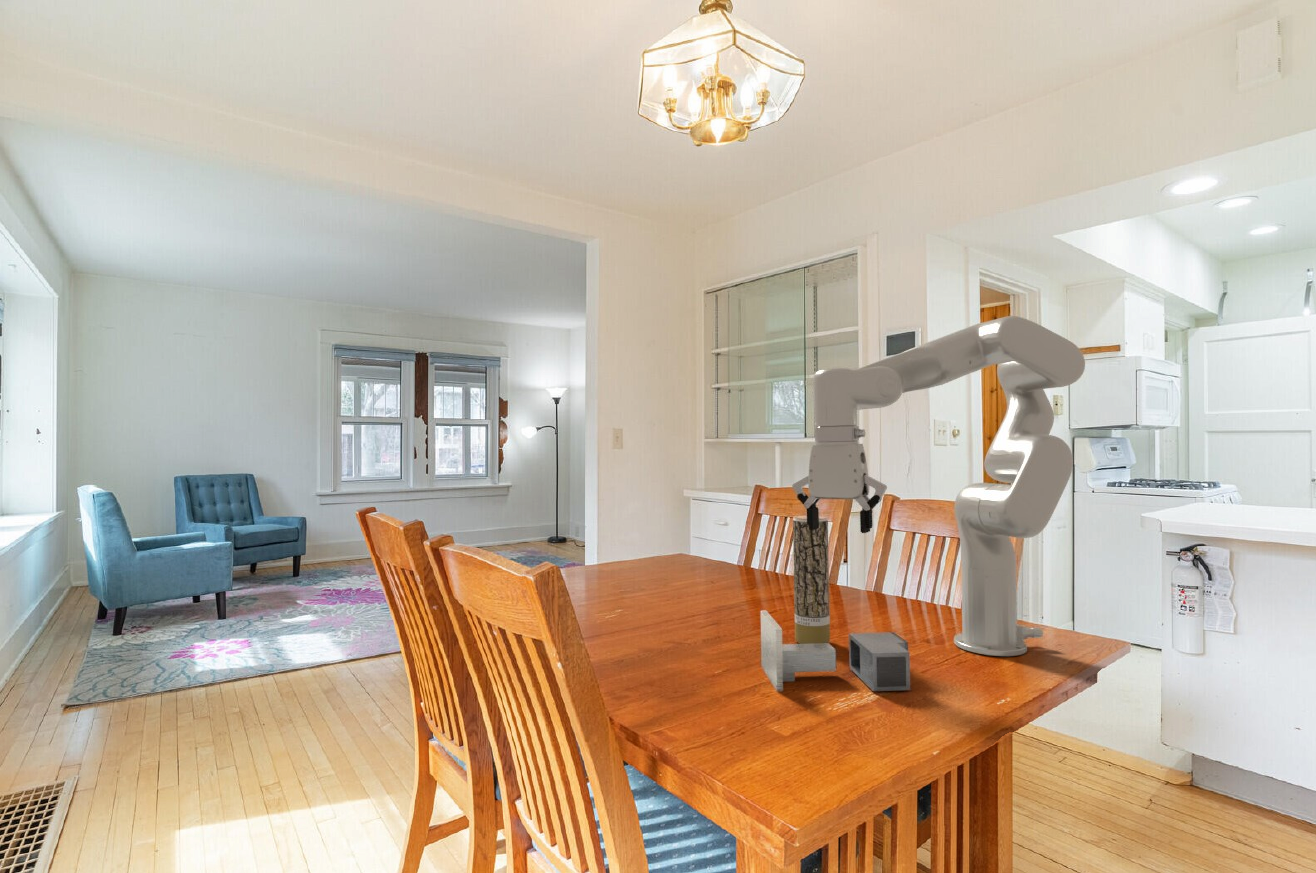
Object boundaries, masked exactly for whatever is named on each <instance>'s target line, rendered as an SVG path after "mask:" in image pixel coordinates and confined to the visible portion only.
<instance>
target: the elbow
mask: <svg viewBox="0 0 1316 873" xmlns="http://www.w3.org/2000/svg"><path fill="white" fill-rule="evenodd" d="M848 652H849V654H848V655H849V664H848V665H849V669H850V670H851V671H852V672H853V673H854V674H855V675H856V676H857V677H858V678H859V679H860V680H861V681H862V682H863V683H864V684H865V685H866V687H868V688H869V689H870V690H871V691H872V692H889V691H891V692H892V691H895V692H896V691H911V668H910V667H911V666H910V665H911V663H910V651H909V642H908V641H907V640H905V639H904V638H902V637H901V636H900V635H898V634H897V633H896V632H894V631H893V632H892V631H891V632H887V631H886V632H860V633H859V632H857V633H855V632H853V633H852V632H851V633H848Z"/></svg>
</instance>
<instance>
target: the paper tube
mask: <svg viewBox="0 0 1316 873" xmlns="http://www.w3.org/2000/svg"><path fill="white" fill-rule="evenodd" d="M792 518H793V519H792V529H793V530H792V532H793V533H792V534H793V535H792V536H793V537H792V538H793V542H792V543H793V592H794V594H793V595H794V597H793V598H794V599H793V600H794V601H793V602H794V604H793V605H794V640H795V641H796V642H797V644H815V643H829V644H830V640H831V638H830V637H831V634H830V633H831V632H830V628H831V627H830V623H831V622H830V618H831V617H830V615H831V614H830V577H829V576H830V572H829V571H830V570H829V568H830V567H829V564H830V563H829V558H830V557H829V521H828V520H829V519H828V518H829V517H827V516H822V515H819V528H818V529H815V530H809V525H808V524H807V515H796V516H793V517H792Z"/></svg>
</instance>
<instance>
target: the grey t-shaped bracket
mask: <svg viewBox="0 0 1316 873" xmlns="http://www.w3.org/2000/svg"><path fill="white" fill-rule="evenodd" d="M760 648H761V650H760V654H761V655H760V656H761V663H760V664H761V666H760V667H761V668H762V670H763V671H764V673H765V674H766V676H767V678H768V679H769V681H770V683H771V684H772V686H773V687H774V690H776V692H784V683H785V682H796V679H795V678H796V676H795V673H813V672H814V673H815V672H816V673H817V672H818V673H819V672H820V673H821V672H836V671H837V665H838V664H837V650H836V648H834V647H833V646H832V645H831V644H830V642H829V643H815V644H799V643H789V644H788V643H787V644H786V643H785V644H783V629H782V627H781V626H780V625H779V623H778V622H777V621H776V620H775V619H774V618H773V617H772V616H771V614H770V613H769V612H768V611H767V610H765V609H762V610H760Z"/></svg>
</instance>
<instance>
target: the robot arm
mask: <svg viewBox="0 0 1316 873" xmlns="http://www.w3.org/2000/svg"><path fill="white" fill-rule="evenodd" d="M995 365H997V369H996V375H997V379H998V382H999V384H1000V385H1001V389H1002V390H1003V392H1004V396H1005V400H1006V412H1005V414H1004V417H1003V420H1002V421H1001V423H1000V426H999V428H998V430H997V432H996V433H995V436H994V438H993V440H992V442H991V444H990V446H989V448H988V450H987V453H986V455H985V458H984V463H983V466H984V471H985V472H986V474H987V475H988V476H989V477H990V478H991V479H993V480H995V481H998V482H1000V483H991V482H976V483H971V484H968V485H966V486H965V487H963V488H962V489H961V490H960V491H959V492H958V493H957V495H956V498H955V501H954V508H953V509H954V515H955V516H954V517H955V521H956V526H957V528H958V534H959V542H960V563H961V564H960V571H961V572H960V576H961V578H960V579H961V581H960V582H961V584H960V585H961V586H960V587H961V622H962V623H961V624H962V625H961V627H962V631H961V632H960V633H957V634H955V635H954V637H953V642H954V644H955V646H957V647H958V648H960V649H962V650H964V651H968V652H970V653H974V654H980V655H985V656H994V657H1015V656H1016V657H1017V656H1022V655H1024V654H1026V653H1027V651H1028V645H1027V643H1026V642H1025V641H1026V640H1027V639H1028V638H1033V639H1036V638H1037V639H1041V638H1043V636H1044V632H1043V629H1042V628H1041V627H1037V626H1035V627H1028V626H1027V625H1023V624H1022V625H1021V624H1019V623H1018V608H1017V607H1018V606H1017V605H1018V602H1017V598H1018V597H1017V557H1016V552H1015V548H1014V545H1013V542H1012V540H1011V537H1012V538H1017V539H1030V538H1033V537H1036V536H1037V535H1039V534H1040V533H1041V532H1043V530H1044V529H1045V528H1046V526H1047V525H1049V524H1048V523H1049V522H1050V520H1051V518H1052V517H1053V514H1054V512H1055V510H1056V508H1057V506H1058V503H1059V502H1060V499H1061V497H1062V495H1063V494H1064V491H1065V489H1066V487H1067V485H1068V482H1069V480H1070V477H1072V473H1073V467H1074V466H1073V463H1074V462H1073V461H1074V459H1073V454H1072V451H1071V448H1070V447H1069V445H1068V444H1067V442H1065V441H1064V440H1063V439H1062V438H1060V437H1058V436H1056V435H1053V434H1050V433H1051V431H1052V429H1053V426H1054V422H1055V421H1054V420H1055V414H1054V410H1053V407H1052V404H1051V402H1050V400H1049V398H1048V396H1047V394H1046V392H1045V390H1046V389H1054V388H1062V387H1063V388H1064V387H1067V386H1070V385H1072V384H1074V383H1076V382H1077V381H1078V380H1079V379H1080V378H1081V377H1082V375H1083V374H1084V372H1085V370H1086V360H1085V356H1084V354H1083V352H1082V350H1081V349H1080V348H1079V346H1077V345H1076V344H1075V343H1074V342H1073V341H1070V340H1069V339H1067V338H1066V337H1063V336H1062V335H1059V334H1058V333H1056V332H1054V331H1052V330H1050V329H1048V328H1046V327H1045V326H1043V325H1041V324H1038V323H1037V322H1035V321H1032V320H1029V319H1027V318H1024V317H1021V316H1016V315H1008V316H1003V317H999V318H996V319H992V320H988V321H984V322H981V323H980V322H979V323H977V324H973V325H971V326H968V327H965V328H963V329H960V330H958V331H955V332H952V333H949V334H947V335H944V336H942V337H939V338H936V339H933V340H930V341H928V342H925V343H922V344H920V345H917V346H915V347H912V348H910V349H907V350H905V351H902V352H900V353H897V354H894V355H892V356H890V357H887V358H884V359H881V360H878V361H875V362H873V363H870V364H867V365H865V366H862V367H859V368H855V369H850V368H845V367H844V368H842V367H838V368H837V367H835V368H834V367H833V368H824V369H821V370H818V371H817V370H816V372H815V374H814V375H813V379H812V381H813V384H812V385H813V413H814V414H813V415H814V443H815V444H812V445H811V449H810V454H809V463H808V475H807V476H805V477H804V478H802V479H800V480H798V481H796V482H794V483H793V484H792V489H793V491H794V493H795V495H796V498H797V500H798V501H799V502H800V503H801V504H802V505H803V507H804V509H806V516H807V524H808V525H809V530H815V529H818V528H819V516H820V513H819V512H820V510H819V507H818V506H817V504H818V503H819V502H820V501H821V499H822V500H855V501H856V502H857V503H858V505H860V507H861V509H862V510H860V511H859V522H860V523H859V524H860V529H859V530H860V533H861V534H867V533H870V532H871V529H872V528H873V526H874V524H873V509H875V507H876V506H877V505H879V503H880V502H881V501H882V498H883V496H884V494H885V492H886V490H887V488H888V487H887V485H886V483H885V484H884V483H883V482H881V481H879V480H877V479H875V478H873V477H871V476H869V472H868V471H869V470H868V462H867V456H866V451H865V447H864V444H863V443H859V441H860V438H865V437H866V430H865V429H861V428H859V426H858V413H857V412H858V411H861V410H869V409H871V410H872V409H880V408H885V407H889V406H891V405H893V404H894V403H896V402H897V401H898V400H899V399H900V398H901V396H902V395H903V394H904V393H908V392H913V391H915V392H916V391H922V390H925V389H931V388H935V387H939V386H943V385H945V384H947V383H951V382H952V381H954V380H957V379H960V378H963V377H965V376H968V375H970V374H971V373H975V372H977V371H980V370H982V369H985V368H988V367H992V366H995ZM806 486H808V493H809V495H807V494H806V493H805V490H804V487H806ZM870 488H873V489H874V490H875V492H874V494H873V496H871V498H870V497H869V494H870ZM1024 640H1025V641H1024Z"/></svg>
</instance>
